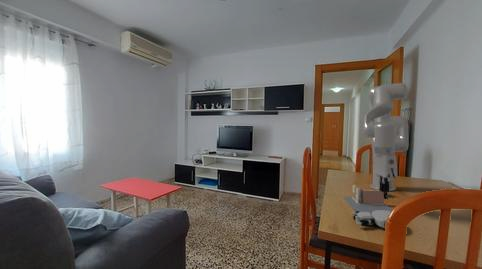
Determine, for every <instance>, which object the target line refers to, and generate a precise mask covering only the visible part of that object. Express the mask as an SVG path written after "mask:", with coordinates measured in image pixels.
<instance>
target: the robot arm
mask: <svg viewBox="0 0 482 269" xmlns="http://www.w3.org/2000/svg"><path fill="white" fill-rule="evenodd" d="M408 92H409V90H408V86H407V84H406V83H404V82H396V83H388V84H382V85H377V86H375V87H372V88H370V89H369V90H368V98H369V102H370V104H371V106H372V108H370V109H369V110H368V111H367V112H366V113H365V115H364V117H363V120H362V134H363V136H364V137H365V138H369V139H370V143H371V151H372V183H370V185H369V187H370V188H371V189H372V190H379V188H380V191H382V192H388V193H389V192H394V191H396V190H397V187H396V186H394V185H393V184H394V183H393V182H394V178H395V179H397V178H398V162H397V157H396V153H397V152H398V153H399V152H400V153H402V152H407V151H408V149H409V122H408V119H407V118H406V117H405V116H401V115H396V116H395V115H393V116H392V112H393V110H394V108H395V106H394V104H395V103H394V101H397V100H398V101H399V100H405V99H406V98H407V97H408V94H409V93H408ZM372 121H373V122H372Z"/></svg>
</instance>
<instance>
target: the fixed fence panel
mask: <svg viewBox="0 0 482 269" xmlns="http://www.w3.org/2000/svg"><path fill="white" fill-rule="evenodd" d="M362 190H363V189H362V188H359V187H358V186H357V185H355V184H353V185H352V197H353V198H354V199H355V200H356V201H357V202H358V203H359V204H362Z"/></svg>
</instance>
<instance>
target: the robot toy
mask: <svg viewBox="0 0 482 269" xmlns="http://www.w3.org/2000/svg"><path fill="white" fill-rule="evenodd" d="M390 211H391V210H388V211H386V210H375V211H373V212H372V213H370V212H359V211H351V212H350V213H351V215H353V216H352V217H353V220H354V221H355V223H356V225H358V226H362V227H365V226H373V225H374V224H376V226H378V227H380V228H381V229H385V222H386V220H387V217H388V215H389V214H390Z"/></svg>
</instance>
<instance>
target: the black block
mask: <svg viewBox="0 0 482 269" xmlns="http://www.w3.org/2000/svg"><path fill="white" fill-rule="evenodd" d="M379 190H380V188H379ZM391 196H392V194H390V193H389V192H384V200H388V199H389V198H390V197H391Z"/></svg>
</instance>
